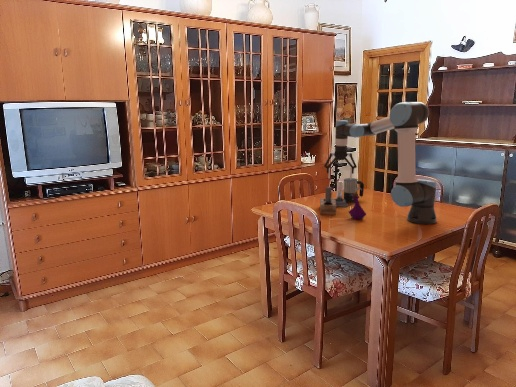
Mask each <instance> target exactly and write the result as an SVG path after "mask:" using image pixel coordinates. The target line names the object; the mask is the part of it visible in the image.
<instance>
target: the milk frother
mask: <svg viewBox="0 0 516 387" xmlns="http://www.w3.org/2000/svg"><path fill="white" fill-rule="evenodd" d="M358 185H359V188H361V189H362V191H361V189H359V193H358V190H357V191H356V188H358ZM364 189H365V184H364V182H363V181H361V180H358V178H354V177H353V178H352V179H350V177H348V178H343V199H345V201H347V203H355V200H354V198H352V196H353V193H358V196H359V197H361V198H362V197H364Z"/></svg>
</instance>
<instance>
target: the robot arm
mask: <svg viewBox="0 0 516 387" xmlns="http://www.w3.org/2000/svg"><path fill="white" fill-rule="evenodd" d="M429 115H430V110H429V108H428V106H427V105H426V104H425V103H423V102H421V101H404V102H399V103H395V105H393V107H392V108H391V109H390V112H389V116H387V117H384V118H380V119H378V120H374V121H371V122H369V123H356V124H353V123H349V121H348V120H345V119H344V120H343V119H342V120H341V119H340V120H336V121H335V134H334V136H335V137H334V138H335V139H334V141H335V142H334V152H329V155H328V158H327V160H326V162H325V163H324V166H323V167H324V169H325V168H326V173H327V174H328V177H327V178H328V180H329V179H330V178H331V177H330V176H331V175H330V174H331V166H333V164H334V163H335V162H336V161H345V162H346V163H347V164H348V165H349V166H350V168H349V170H350V172H349V178H350V179H352V177H353V176H352V175H353V174H354V173H355V172H354V170H355V169H356V168H358V166H357V164H356V163H355V160H354V157H353V153H352V152H350V153H349V152H348V137H351V138H356V139H357V138H362V137H373V136H376V135H377V134H380V133H384V132H386V131H391V130H394V131H395V132H396V133H397V171H398V172H397V179H396V180H395V185H394V186H393V187H392V189H391V190H390V197H391V200H392V201H393V203H394V204H395V205H396V206H398V207H399V208H400V207H402V208H404V207H410V209H409V211H408V213H407V215H406V220H407V221H408V222H411V223H413V224H419V225H432V224H436V223H437V214H436V209H435V201H436V200H435V199H436V189H437V187H436V186H437V185H436V184H437V182H436V181H434V180H429V179H422V178H417V177H416V175H417V174H416V131H417V130H418V129H419V125H421V124H423V123H425V122H426V121H427V120H428V119H429ZM333 156H334V158H332V157H333ZM348 157H349V158H350V159H351V162H350V161H349V160H348V159H347V158H348ZM331 159H332V161H331ZM330 161H331V162H330Z"/></svg>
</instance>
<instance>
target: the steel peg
mask: <svg viewBox="0 0 516 387" xmlns="http://www.w3.org/2000/svg"><path fill="white" fill-rule="evenodd" d="M343 194H344V180H336V199H337V201H342V199H343Z"/></svg>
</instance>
